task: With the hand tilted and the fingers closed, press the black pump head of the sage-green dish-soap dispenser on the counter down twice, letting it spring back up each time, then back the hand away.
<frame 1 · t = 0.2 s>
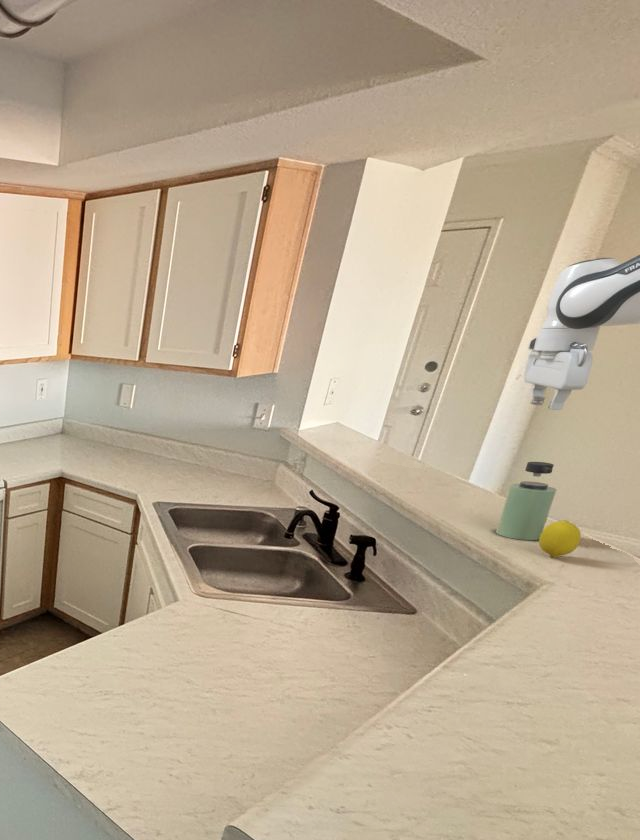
hand: (545, 407, 131), 27 cm above the counter, tool pointing down, fingers open, 8 cm apart
pump head: (541, 471, 126), point 15 cm above the counter, slide at 0.1 cm
lemon: (552, 558, 120), on the counter
soap bottle: (517, 535, 132), on the counter
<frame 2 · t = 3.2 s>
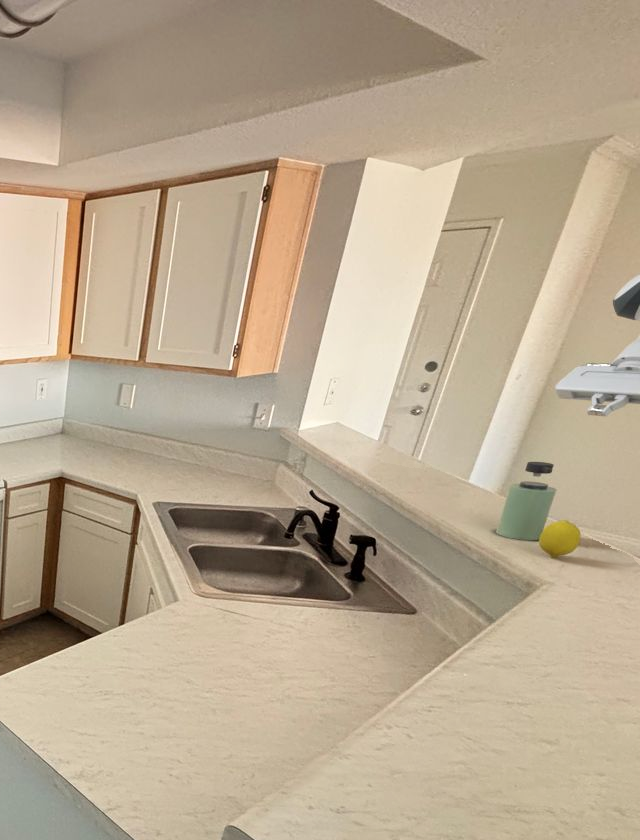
hand: (596, 414, 127), 26 cm above the counter, tool tilted 45°, fingers closed
nothing on the counter moved.
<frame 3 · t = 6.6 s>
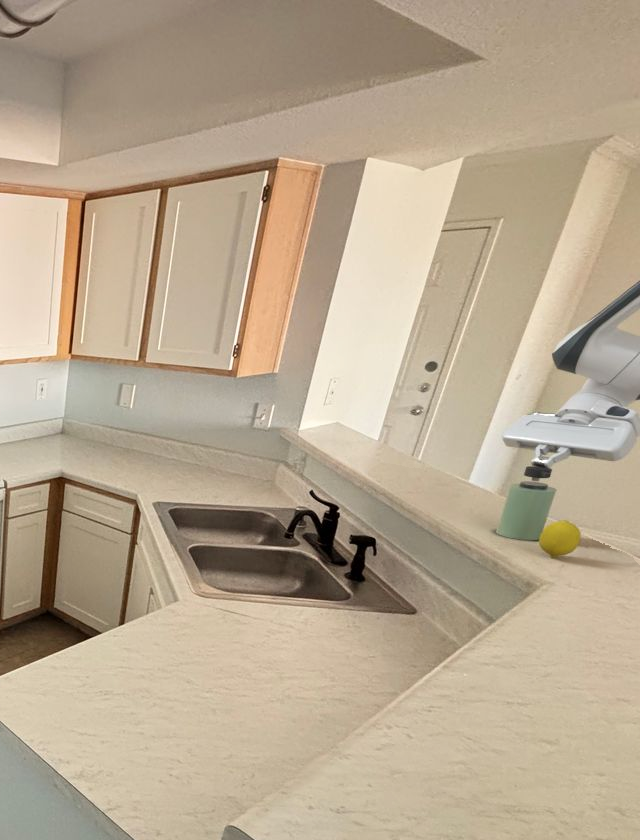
hand: (539, 465, 127), 16 cm above the counter, tool tilted 45°, fingers closed, pressing on pump head
pump head: (539, 475, 127), point 14 cm above the counter, slide at -0.9 cm, touching gripper
everything else where it was.
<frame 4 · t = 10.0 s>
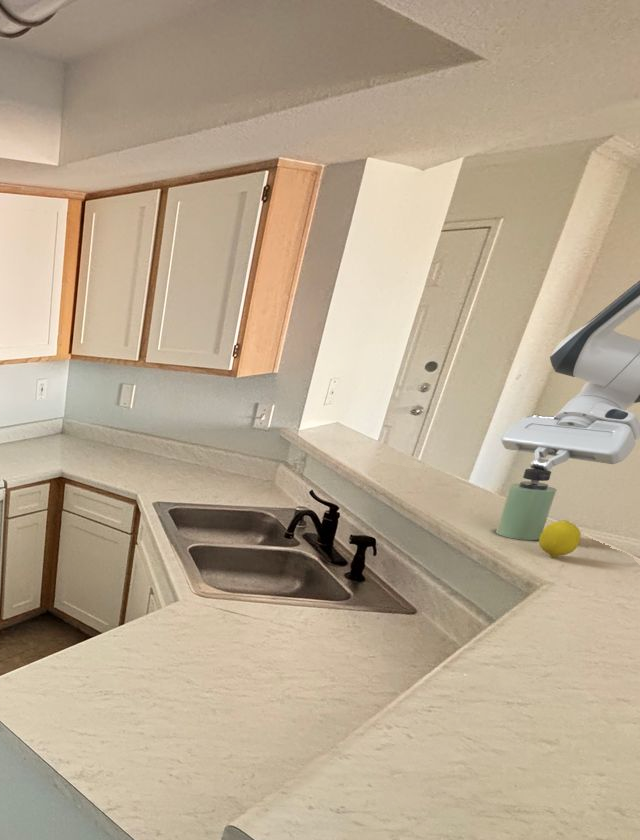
hand: (538, 467, 127), 16 cm above the counter, tool tilted 45°, fingers closed, pressing on pump head
pump head: (539, 478, 127), point 14 cm above the counter, slide at -1.5 cm, touching gripper
everything else where it was.
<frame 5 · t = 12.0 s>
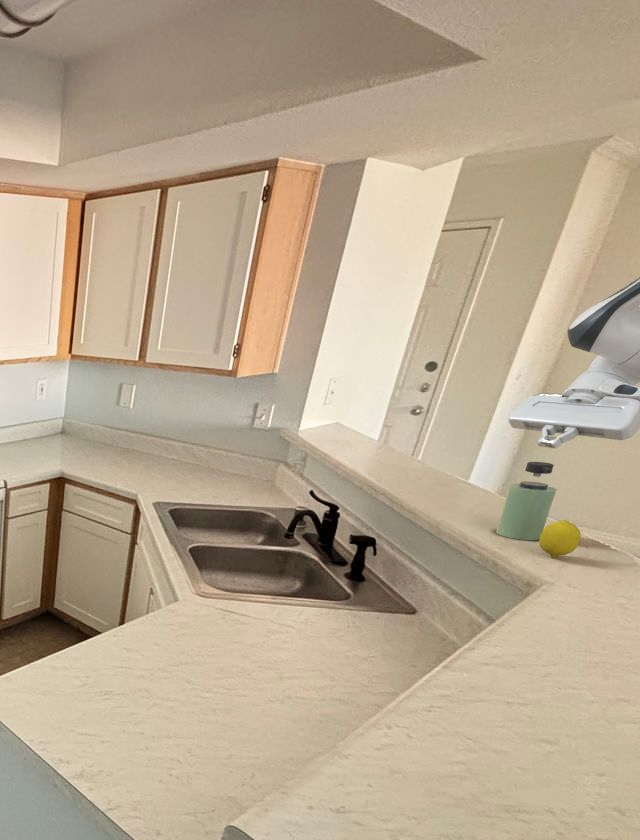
hand: (546, 445, 126), 20 cm above the counter, tool tilted 45°, fingers closed
pump head: (541, 471, 126), point 15 cm above the counter, slide at 0.1 cm
everything else where it was.
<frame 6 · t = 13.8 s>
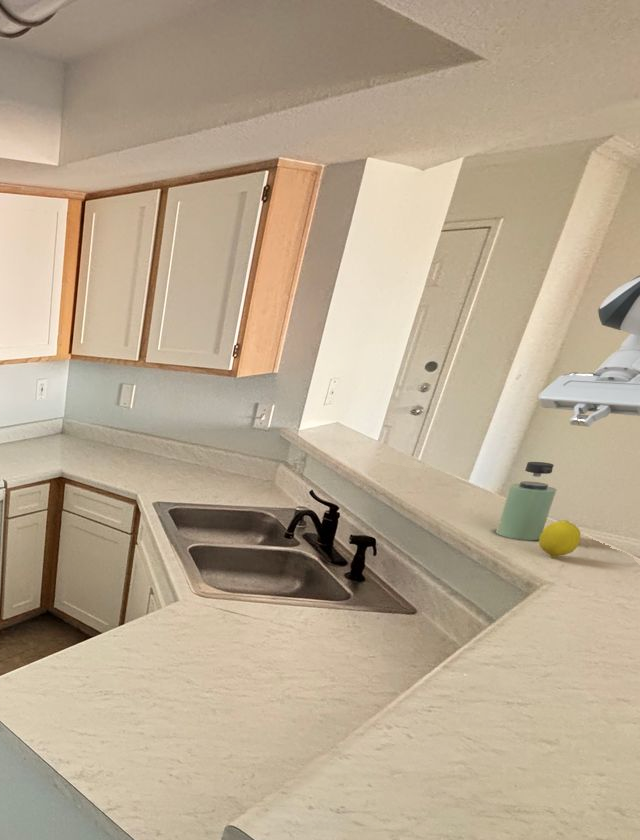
hand: (578, 423, 126), 24 cm above the counter, tool tilted 45°, fingers closed
nothing on the counter moved.
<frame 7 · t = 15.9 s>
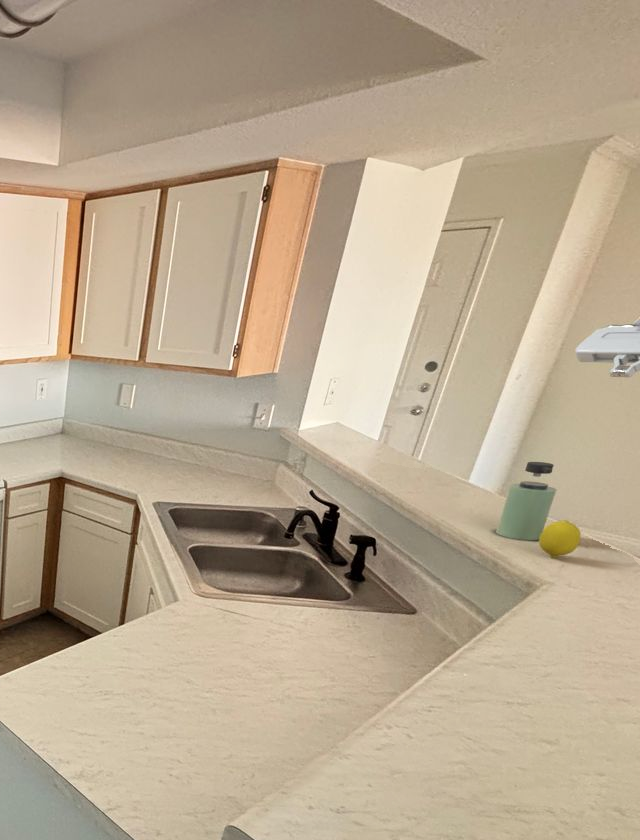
hand: (619, 375, 123), 34 cm above the counter, tool tilted 45°, fingers closed
nothing on the counter moved.
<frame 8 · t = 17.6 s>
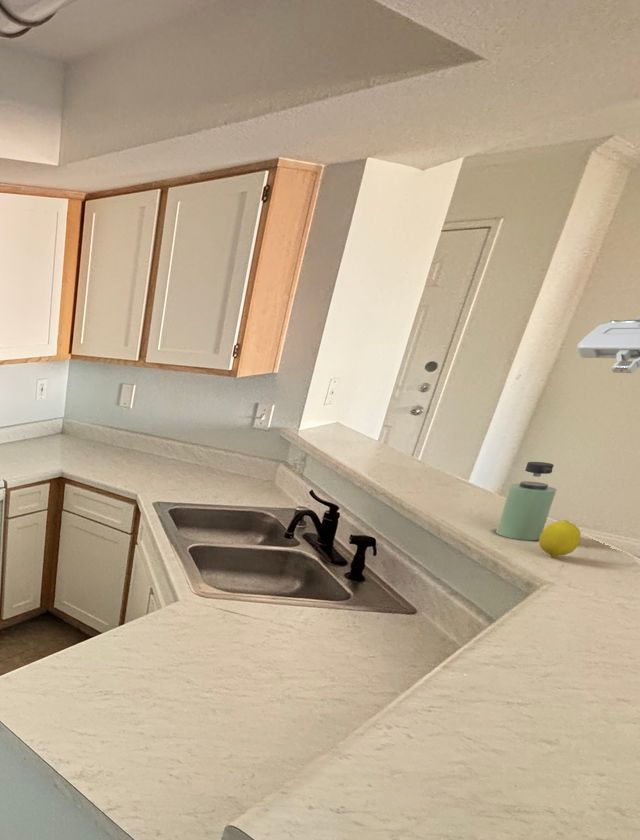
hand: (621, 370, 122), 35 cm above the counter, tool tilted 45°, fingers closed
nothing on the counter moved.
at the end: pump head pushed in 1.5 cm at the most during the clip, back to where it started at the end; pump head slide at 0.1 cm; lemon moved 0.2 cm from its start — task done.
